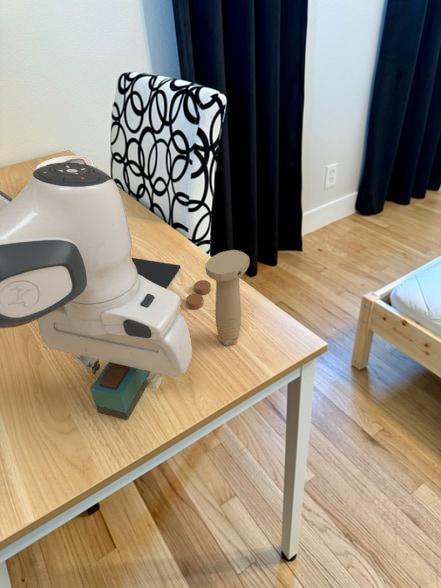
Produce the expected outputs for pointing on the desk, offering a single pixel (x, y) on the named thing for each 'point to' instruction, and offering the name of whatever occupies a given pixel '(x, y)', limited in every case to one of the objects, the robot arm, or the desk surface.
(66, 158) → the bowl
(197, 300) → the brown short cylinder
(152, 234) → the desk surface
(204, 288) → the grit
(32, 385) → the desk surface
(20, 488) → the desk surface
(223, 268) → the handle
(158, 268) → the mat
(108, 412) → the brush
